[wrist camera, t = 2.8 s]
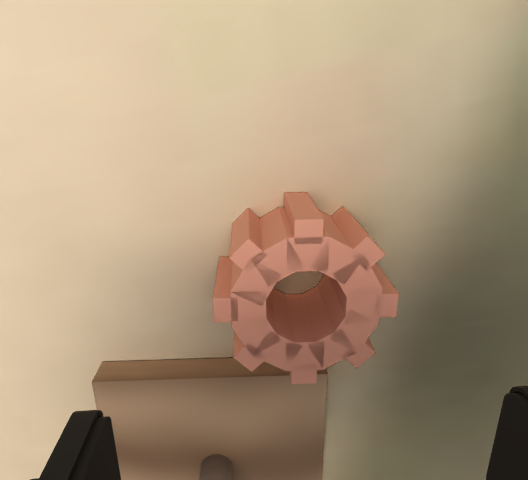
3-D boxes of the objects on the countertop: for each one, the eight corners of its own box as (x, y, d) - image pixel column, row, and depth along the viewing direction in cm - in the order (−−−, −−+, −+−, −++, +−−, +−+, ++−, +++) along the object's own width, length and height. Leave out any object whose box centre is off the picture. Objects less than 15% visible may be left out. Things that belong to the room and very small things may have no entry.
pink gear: (216, 193, 18) (208, 221, 14) (374, 190, 18) (408, 217, 14) (222, 331, 20) (217, 386, 16) (362, 327, 20) (388, 380, 17)
